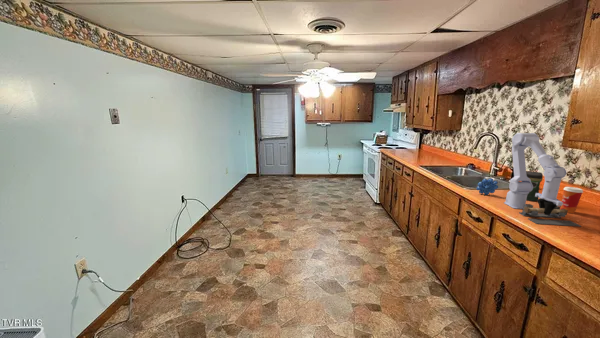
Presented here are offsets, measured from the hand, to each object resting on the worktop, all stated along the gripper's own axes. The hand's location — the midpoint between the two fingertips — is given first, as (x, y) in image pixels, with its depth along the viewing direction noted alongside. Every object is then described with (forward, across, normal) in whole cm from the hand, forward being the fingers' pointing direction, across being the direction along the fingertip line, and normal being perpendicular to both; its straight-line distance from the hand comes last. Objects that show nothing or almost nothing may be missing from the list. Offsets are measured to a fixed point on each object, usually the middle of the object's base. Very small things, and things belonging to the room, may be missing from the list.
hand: (544, 213), depth 132 cm
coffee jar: (+3, -32, +14) cm, 35 cm away
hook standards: (+2, -1, 0) cm, 3 cm away
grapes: (+3, -38, -8) cm, 39 cm away
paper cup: (+3, -12, +21) cm, 24 cm away
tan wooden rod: (0, 0, 0) cm, 0 cm away
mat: (+2, +6, 0) cm, 7 cm away
